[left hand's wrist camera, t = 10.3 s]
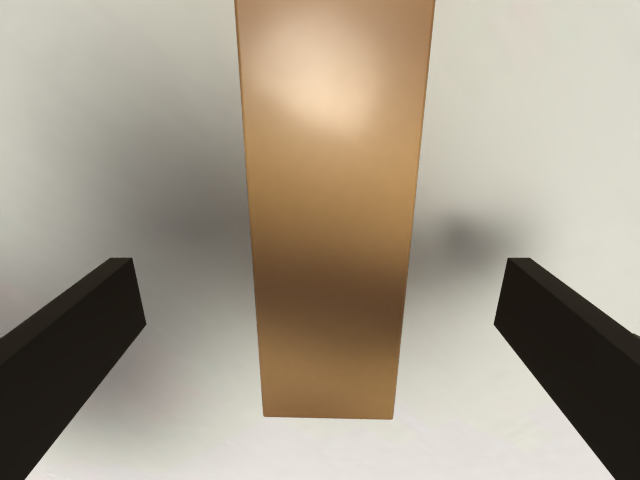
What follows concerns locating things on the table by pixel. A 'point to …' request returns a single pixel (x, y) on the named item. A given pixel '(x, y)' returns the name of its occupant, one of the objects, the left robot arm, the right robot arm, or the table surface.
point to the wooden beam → (331, 193)
